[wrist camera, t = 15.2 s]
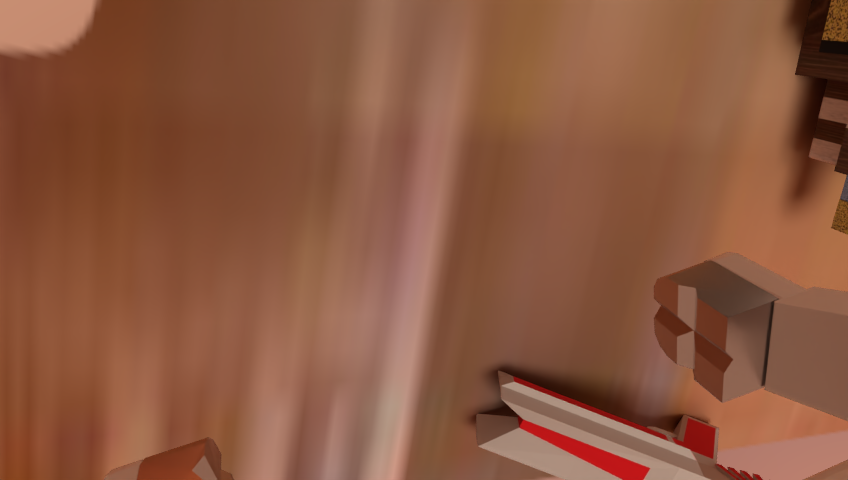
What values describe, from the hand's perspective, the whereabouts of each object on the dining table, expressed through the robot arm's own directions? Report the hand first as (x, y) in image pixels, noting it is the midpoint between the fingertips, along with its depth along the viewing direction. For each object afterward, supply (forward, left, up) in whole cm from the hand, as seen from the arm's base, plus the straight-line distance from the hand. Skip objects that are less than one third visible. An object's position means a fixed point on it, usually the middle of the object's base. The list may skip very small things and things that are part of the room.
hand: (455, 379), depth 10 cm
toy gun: (+21, -38, -32) cm, 53 cm away
